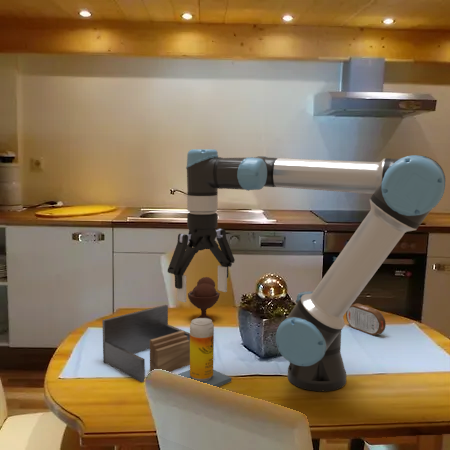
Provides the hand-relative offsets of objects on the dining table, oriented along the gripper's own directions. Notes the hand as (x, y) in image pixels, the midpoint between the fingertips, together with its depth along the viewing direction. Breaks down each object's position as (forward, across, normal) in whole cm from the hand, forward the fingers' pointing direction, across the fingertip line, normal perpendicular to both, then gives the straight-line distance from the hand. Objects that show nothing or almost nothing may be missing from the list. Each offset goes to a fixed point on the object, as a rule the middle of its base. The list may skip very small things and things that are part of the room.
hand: (202, 295), depth 136 cm
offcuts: (+23, +1, -12) cm, 26 cm away
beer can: (+22, 0, 0) cm, 22 cm away
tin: (+23, -65, +7) cm, 69 cm away
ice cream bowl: (+23, -33, -37) cm, 54 cm away
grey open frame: (+23, +1, -19) cm, 30 cm away
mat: (+23, 0, 0) cm, 23 cm away
